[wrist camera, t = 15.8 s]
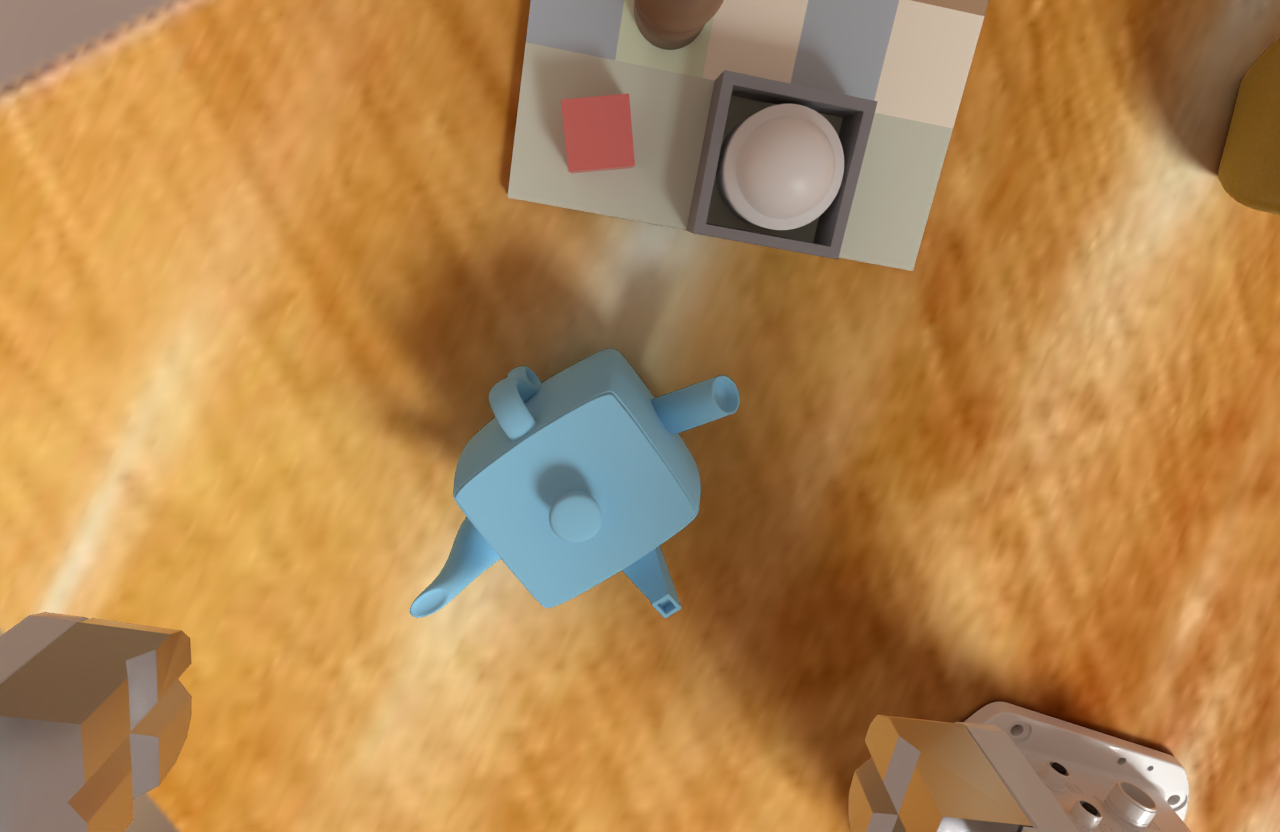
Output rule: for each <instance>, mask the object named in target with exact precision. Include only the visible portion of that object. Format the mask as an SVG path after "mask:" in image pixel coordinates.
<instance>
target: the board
mask: <svg viewBox="0 0 1280 832" xmlns="http://www.w3.org/2000/svg"><path fill="white" fill-rule="evenodd" d="M988 2H989V0H724V1H723V3H722V5H721V7H720V8H719V10H718V11H717V12H716V14H715V15H714V16H713V17H712V18H711V19H710V20H709V21H708V22H706V23H705V25H704V27H703V29H702V31H701V32H700V34H699V35H698V36H697V38H696V39H695V40H694V41H693V42H691V43H690V44H688V45H687V46H685V47H682V48H680V49H675V50H666V49H661V48H658V47H656V46H654V45H652V44H651V43H650V42H648V41H647V40H646V39H645V38H644V36H643V35H642V34H641V32H640V31H639V29H638V27H637V24H636V21H635V16H634V0H531V2H530V11H529V19H528V27H527V36H526V44H525V53H524V61H523V70H522V78H521V87H520V95H519V104H518V112H517V121H516V129H515V137H514V146H513V154H512V163H511V171H510V180H509V188H508V197H507V198H513V199H518V200H524V201H529V202H535V203H540V204H546V205H551V206H557V207H562V208H568V209H573V210H579V211H584V212H590V213H595V214H601V215H606V216H612V217H617V218H623V219H628V220H634V221H639V222H645V223H650V224H656V225H662V226H667V227H673V228H678V229H684V230H687V231H690V232H692V233H695V234H700V235H706V236H711V237H717V238H722V239H728V240H733V241H739V242H744V243H750V244H755V245H761V246H766V247H772V248H778V249H783V250H789V251H794V252H800V253H805V254H811V255H816V256H822V257H827V258H833V259H838V258H844V259H849V260H855V261H860V262H866V263H871V264H877V265H882V266H888V267H893V268H899V269H904V270H910V271H913V269H914V265H915V262H916V258H917V255H918V251H919V248H920V244H921V240H922V237H923V233H924V230H925V226H926V223H927V219H928V216H929V212H930V208H931V205H932V201H933V198H934V194H935V191H936V187H937V184H938V180H939V176H940V173H941V169H942V166H943V162H944V159H945V155H946V152H947V148H948V144H949V141H950V137H951V134H952V130H953V127H954V123H955V120H956V116H957V112H958V109H959V105H960V102H961V98H962V95H963V91H964V88H965V84H966V80H967V77H968V73H969V70H970V66H971V63H972V59H973V56H974V52H975V48H976V45H977V41H978V38H979V34H980V31H981V27H982V23H983V20H984V16H985V13H986V9H987V6H988ZM617 94H629V99H630V111H631V123H632V135H633V147H634V159H635V166H634V167H633V168H626V169H615V170H604V171H593V172H582V173H570V172H569V171H568V162H567V153H566V144H565V135H564V126H563V117H562V108H561V99H573V98H584V97H595V96H606V95H617ZM779 104H798V105H802V106H806V107H808V108H811V109H813V110H815V111H816V112H818V113H819V114H821V115H822V116H823V117H824V118H826V119H827V120H828V122H829V123H830V124H831V125H832V126H833V128H834V129H835V131H836V133H837V135H838V137H839V139H840V142H841V145H842V148H843V154H844V173H843V178H842V182H841V185H840V188H839V190H838V193H837V195H836V197H835V198H834V200H833V202H832V203H831V204H830V206H829V207H828V208H827V209H826V210H825V211H824V212H823V213H822V214H821V215H820V216H819V217H818V218H816V219H815V220H813V221H812V222H810V223H808V224H806V225H804V226H802V227H798V228H795V229H790V230H773V229H768V228H763V227H759V226H755V225H751V224H749V223H746V222H744V221H743V220H741V219H739V218H738V217H737V216H735V215H734V214H733V213H732V212H731V211H730V210H729V209H728V207H727V206H726V205H725V203H724V201H723V200H722V198H721V195H720V193H719V190H718V186H717V181H716V170H717V165H718V160H719V155H720V150H721V146H722V144H723V142H724V140H725V138H726V137H727V136H728V134H729V133H730V132H731V131H732V130H733V128H734V127H735V126H737V125H738V124H739V123H740V122H741V121H743V120H745V119H746V118H748V117H750V116H752V115H753V114H755V113H757V112H759V111H761V110H763V109H765V108H767V107H771V106H774V105H779Z"/></svg>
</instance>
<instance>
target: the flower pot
mask: <svg viewBox="0 0 1280 832" xmlns="http://www.w3.org/2000/svg"><path fill="white" fill-rule="evenodd" d="M1218 177H1219V180H1220V182H1221V184H1222V186H1223V188H1224V189H1225V191H1226V192H1227V193H1228V194H1229V195H1230V196H1231V197H1232V198H1234V199H1235V200H1236V201H1238V202H1239V203H1241V204H1243V205H1245V206H1247V207H1250V208H1252V209H1256V210H1259V211H1263V212H1268V213H1273V214H1278V215H1280V39H1279V40H1278V41H1277V42H1275V43H1274V44H1273V45H1272V46H1271V47H1269V48H1268V49H1267V50H1266V51H1265V52H1264V53H1263V54H1262V55H1261V56H1260V57H1259V58H1258V59H1257V60H1256V61H1255V63H1254V64H1253V65H1252V66H1251V68H1250V69H1249V70H1248V71H1247V73H1246V74H1245V76H1244V77H1243V79H1242V81H1241V83H1240V87H1239V91H1238V95H1237V99H1236V103H1235V108H1234V112H1233V115H1232V120H1231V124H1230V128H1229V132H1228V135H1227V139H1226V143H1225V147H1224V151H1223V154H1222V158H1221V161H1220V165H1219V169H1218Z"/></svg>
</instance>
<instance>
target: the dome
mask: <svg viewBox="0 0 1280 832" xmlns="http://www.w3.org/2000/svg"><path fill="white" fill-rule="evenodd" d="M843 173H844V154H843V148H842V145H841V142H840V139H839V137H838V135H837V133H836V131H835V129H834V128H833V126H832V125H831V124H830V123H829V122H828V120H827V119H826V118H824V117H823V116H822V115H821V114H819V113H818V112H816V111H815V110H813V109H811V108H808V107H806V106H802V105H798V104H779V105H774V106H771V107H767V108H765V109H763V110H761V111H759V112H757V113H755V114H753V115H752V116H750V117H748V118H746V119H745V120H743V121H741V122H740V123H739V124H738V125H737V126H735V127H734V128H733V130H732V131H731V132H730V133H729V134H728V136H727V137H726V138H725V140H724V142H723V144H722V146H721V150H720V155H719V160H718V165H717V170H716V181H717V186H718V190H719V193H720V195H721V198H722V200H723V201H724V203H725V205H726V206H727V207H728V209H729V210H730V211H731V212H732V213H733V214H734V215H735V216H737V217H738V218H739V219H741V220H743V221H744V222H746V223H749V224H751V225H755V226H759V227H763V228H768V229H773V230H790V229H795V228H798V227H802V226H804V225H806V224H808V223H810V222H812V221H813V220H815V219H816V218H818V217H819V216H820V215H821V214H822V213H823V212H824V211H825V210H826V209H827V208H828V207H829V206H830V204H831V203H832V202H833V200H834V198H835V197H836V195H837V193H838V190H839V188H840V185H841V182H842V178H843Z"/></svg>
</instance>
